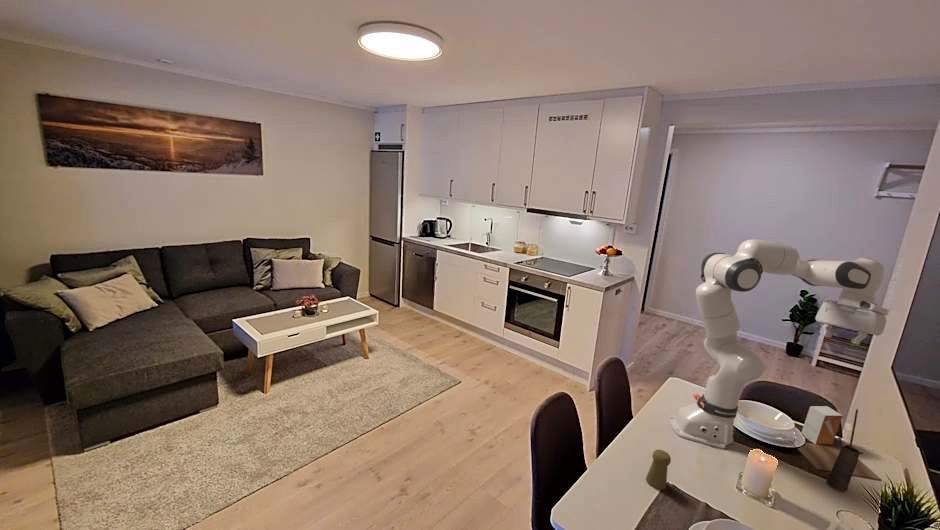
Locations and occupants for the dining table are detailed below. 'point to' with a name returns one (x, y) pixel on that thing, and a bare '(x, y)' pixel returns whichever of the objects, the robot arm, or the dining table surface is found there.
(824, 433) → the small box
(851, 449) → the butter churn
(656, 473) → the olive pepper mill
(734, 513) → the dining table surface
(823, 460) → the walnut mat
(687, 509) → the dining table surface
